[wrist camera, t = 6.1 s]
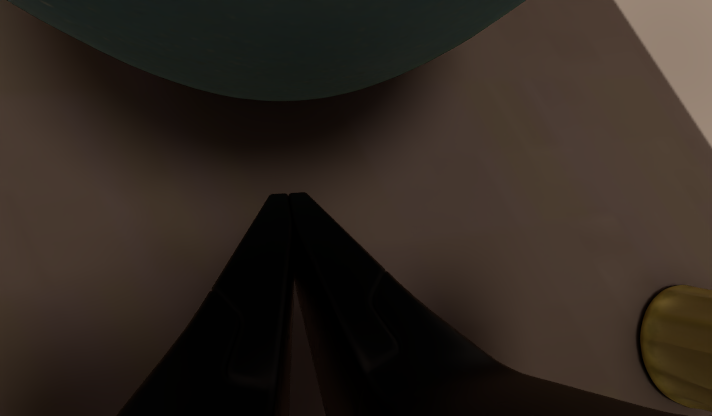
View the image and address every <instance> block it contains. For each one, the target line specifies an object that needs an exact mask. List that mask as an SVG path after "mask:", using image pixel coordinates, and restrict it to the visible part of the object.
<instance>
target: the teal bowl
mask: <svg viewBox="0 0 712 416" xmlns="http://www.w3.org/2000/svg"><path fill="white" fill-rule="evenodd" d="M7 1H9V2H11V3H12V4H14V5H16V6H17V7H19V8H21V9H23V10H24V11H26V12H28V13H29V14H31V15H33V16H34V17H36V18H38V19H40V20H42V21H43V22H45V23H47V24H49V25H51V26H53V27H55V28H57V29H58V30H60V31H62V32H64V33H66V34H68V35H70V36H72V37H74V38H76V39H78V40H80V41H82V42H84V43H86V44H87V45H89V46H91V47H93V48H95V49H97V50H99V51H101V52H103V53H105V54H108V55H110V56H112V57H114V58H116V59H118V60H120V61H122V62H125V63H127V64H129V65H131V66H134V67H136V68H139V69H141V70H144V71H146V72H149V73H151V74H153V75H156V76H159V77H162V78H165V79H168V80H171V81H173V82H176V83H179V84H183V85H186V86H189V87H192V88H195V89H199V90H203V91H207V92H211V93H215V94H219V95H224V96H230V97H235V98H243V99H253V100H264V101H299V100H310V99H318V98H325V97H332V96H336V95H341V94H345V93H349V92H353V91H357V90H360V89H363V88H367V87H370V86H372V85H375V84H378V83H380V82H383V81H386V80H389V79H391V78H394V77H397V76H399V75H401V74H403V73H405V72H407V71H410V70H412V69H414V68H416V67H418V66H420V65H423V64H425V63H427V62H429V61H431V60H432V59H434V58H436V57H438V56H440V55H442V54H444V53H445V52H447V51H449V50H451V49H453V48H455V47H456V46H458V45H460V44H461V43H463V42H465V41H466V40H468V39H470V38H472V37H473V36H475V35H476V34H477V33H479V32H480V31H482V30H483V29H485V28H486V27H488V26H489V25H491V24H492V23H494V22H495V21H497V20H498V19H500V18H501V17H503V16H504V15H506V14H507V13H508V12H510V11H511V10H513V9H514V8H515V7H517V6H518V5H520V4H521V3H523V2H524V1H525V0H7Z"/></svg>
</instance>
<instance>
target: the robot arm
mask: <svg viewBox="0 0 712 416" xmlns="http://www.w3.org/2000/svg"><path fill="white" fill-rule="evenodd" d="M294 281H295V286H296V291H297V296H298V300H299V304H300V308H301V312H302V317H303V321H304V325H305V329H306V334H307V338H308V342H309V346H310V350H311V355H312V359H313V363H314V367H315V372H316V376H317V380H318V384H319V388H320V393H321V397H322V401H323V405H324V410H325V414H326V416H686V415H680V414H673V413H668V412H664V411H659V410H655V409H651V408H647V407H643V406H640V405H636V404H632V403H629V402H625V401H621V400H617V399H614V398H610V397H606V396H603V395H599V394H595V393H592V392H588V391H584V390H581V389H577V388H573V387H570V386H566V385H562V384H559V383H555V382H551V381H548V380H544V379H540V378H536V377H533V376H529V375H526V374H523V373H520V372H518V371H515V370H513V369H511V368H509V367H507V366H505V365H503V364H502V363H500V362H498V361H497V360H495V359H494V358H492V357H491V356H489V355H488V354H487V353H485V352H484V351H483V350H481V349H480V348H479V347H477V346H476V345H475V344H474V343H472V342H471V341H470V340H468V339H467V338H466V337H465V336H463V335H462V334H461V333H459V332H458V331H457V330H456V329H454V328H453V327H452V326H450V325H449V324H448V323H447V322H445V321H444V320H443V319H441V318H440V317H439V316H438V315H436V314H435V313H434V312H432V311H431V310H430V309H429V308H428V307H426V306H425V305H424V304H423V303H421V302H420V301H419V300H418V299H417V298H415V297H414V296H413V295H412V294H411V293H410V292H409V291H408V290H407V289H405V288H404V287H403V286H402V285H401V284H400V283H399V282H398V281H397V280H396V279H395V278H394V277H393V276H392V275H391V274H390V273H388V272H387V271H385V269H384V268H383V267H382V266H381V265H380V264H379V263H378V262H377V261H376V260H375V259H374V258H373V257H372V256H371V255H370V254H369V253H368V252H367V251H366V250H365V249H364V248H363V247H362V246H360V245H359V244H358V243H357V242H356V241H355V240H354V239H353V238H352V237H351V236H350V235H349V234H348V233H347V232H346V231H345V230H344V229H343V228H342V227H341V226H340V225H339V224H338V223H337V222H336V221H335V220H334V219H333V218H332V217H331V216H330V215H329V214H328V213H327V212H325V211H324V210H323V209H322V208H321V207H320V206H319V205H318V204H317V203H316V202H315V201H314V200H313V199H312V198H311V197H310V196H309V195H308V194H307V193H305V192H300V193H290V194H289V195H287V194H286V193H282V194H271V195H269V197H268V198H267V200H266V202H265V203H264V205H263V206H262V208H261V210H260V211H259V213H258V215H257V216H256V218H255V219H254V221H253V223H252V224H251V226H250V227H249V229H248V231H247V232H246V234H245V235H244V237H243V239H242V240H241V242H240V243H239V245H238V247H237V248H236V250H235V252H234V253H233V255H232V256H231V258H230V260H229V261H228V263H227V264H226V266H225V268H224V269H223V271H222V272H221V274H220V276H219V277H218V279H217V281H216V282H215V284H214V285H213V287H212V291H210V292H209V293H208V295H207V296H206V298H205V300H204V301H203V303H202V304H201V306H200V307H199V309H198V310H197V312H196V313H195V315H194V316H193V318H192V319H191V321H190V322H189V324H188V325H187V327H186V328H185V329H184V331H183V332H182V333H181V335H180V336H179V337H178V339H177V340H176V341H175V343H174V344H173V345H172V346H171V348H170V349H169V350H168V352H167V353H166V354H165V355H164V357H163V358H162V359H161V360H160V362H159V363H158V364H157V365H156V367H155V368H154V369H153V370H152V372H151V373H150V374H149V375H148V377H147V378H146V379H145V380H144V382H143V383H142V384H141V385H140V386H139V388H138V389H137V390H136V391H135V393H134V394H133V395H132V396H131V398H130V399H129V400H128V401H127V403H126V404H125V405H124V406H123V408H122V409H121V410H120V411H119V413H118V414H117V415H116V416H289V398H290V373H291V349H292V325H293V301H294Z"/></svg>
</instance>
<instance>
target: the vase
mask: <svg viewBox="0 0 712 416" xmlns="http://www.w3.org/2000/svg"><path fill="white" fill-rule="evenodd" d="M640 344H641V352H642V357H643V361H644V364H645V367H646V369H647V372H648V374H649V376H650V377H651V379H652V381H653V382H654V384H655V385H656V386H657V387H658V389H659V390H660V391H661V392H662V393H663V394H664V395H665V396H667V397H668V398H670V399H671V400H673V401H674V402H677V403H679V404H681V405H683V406H686V407H689V408H698V409H703V410H707V411H710V412H712V290H707V289H702V288H697V287H692V286H688V285H678V286H673V287H670V288H667V289H665V290H663V291H662V292H660V293H659V294H658V295H657V296H656V297H655V298H654V299H653V300H652V302H651V303H650V305H649V306H648V308H647V310H646V312H645V315H644V317H643V321H642V326H641V333H640Z"/></svg>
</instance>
